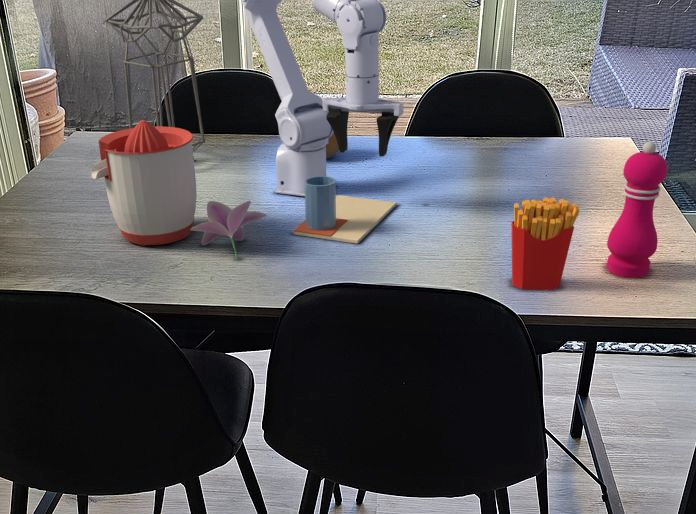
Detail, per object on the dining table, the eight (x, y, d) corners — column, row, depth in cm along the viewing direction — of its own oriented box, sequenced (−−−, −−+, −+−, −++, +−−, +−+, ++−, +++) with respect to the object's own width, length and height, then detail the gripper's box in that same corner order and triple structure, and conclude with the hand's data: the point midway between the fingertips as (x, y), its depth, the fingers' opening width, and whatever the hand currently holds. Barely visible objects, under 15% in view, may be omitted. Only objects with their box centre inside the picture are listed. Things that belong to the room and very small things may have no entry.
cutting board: (293, 234, 144) (293, 230, 144) (337, 197, 160) (337, 193, 159) (357, 243, 140) (357, 239, 139) (396, 205, 156) (396, 201, 155)
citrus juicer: (95, 228, 149) (75, 116, 138) (189, 213, 154) (177, 104, 144) (112, 260, 136) (92, 139, 126) (213, 242, 142) (202, 125, 132)
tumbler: (301, 228, 144) (299, 183, 140) (313, 218, 149) (312, 174, 145) (329, 232, 143) (328, 187, 138) (340, 221, 147) (340, 177, 143)
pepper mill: (596, 261, 132) (615, 136, 121) (640, 259, 132) (663, 133, 122) (613, 280, 125) (636, 150, 115) (659, 278, 126) (686, 147, 116)
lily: (279, 249, 141) (262, 194, 141) (262, 248, 130) (245, 189, 129) (214, 269, 144) (198, 215, 143) (193, 270, 132) (175, 212, 131)
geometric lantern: (169, 149, 191) (150, -17, 173) (220, 159, 183) (206, -13, 165) (118, 166, 180) (92, -9, 162) (170, 179, 172) (149, -4, 154)
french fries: (507, 289, 124) (516, 206, 117) (504, 277, 127) (512, 196, 121) (570, 290, 123) (582, 206, 116) (565, 278, 126) (577, 196, 120)
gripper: (314, 77, 142) (317, 155, 149) (393, 81, 137) (393, 162, 144) (330, 69, 148) (332, 145, 155) (407, 73, 142) (406, 151, 149)
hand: (362, 153), depth 149 cm, fingers open, 7 cm apart
